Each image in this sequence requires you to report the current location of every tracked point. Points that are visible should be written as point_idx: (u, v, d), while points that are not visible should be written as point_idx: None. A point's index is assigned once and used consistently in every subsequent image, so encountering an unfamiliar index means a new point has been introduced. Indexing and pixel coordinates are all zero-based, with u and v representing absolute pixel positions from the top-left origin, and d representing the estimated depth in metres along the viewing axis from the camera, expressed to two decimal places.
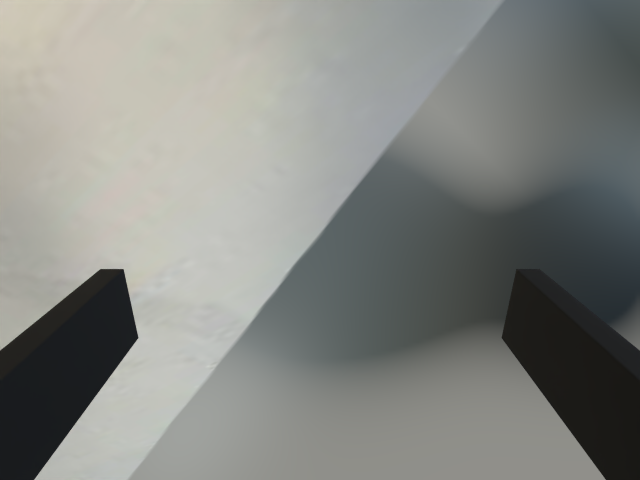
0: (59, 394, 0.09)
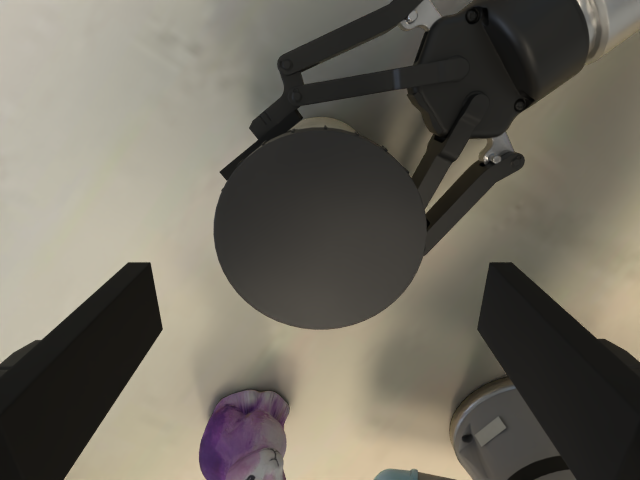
0: (98, 379, 0.10)
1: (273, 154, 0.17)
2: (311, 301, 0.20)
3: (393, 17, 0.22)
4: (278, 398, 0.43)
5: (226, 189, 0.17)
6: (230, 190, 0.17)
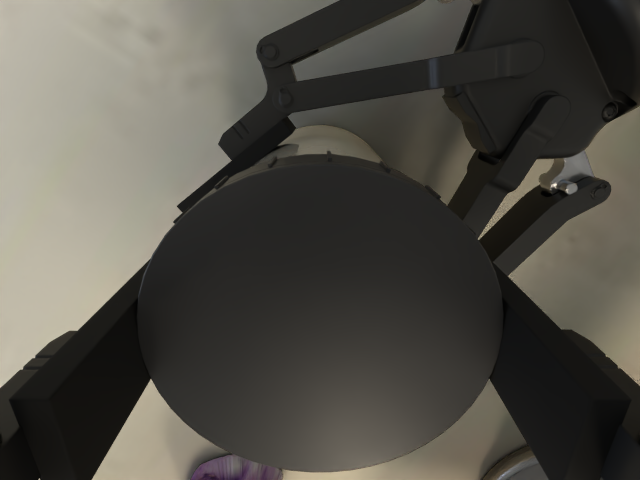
0: (129, 368, 0.10)
1: (235, 206, 0.09)
2: (305, 434, 0.12)
3: None
4: None
5: (154, 265, 0.10)
6: (161, 267, 0.10)
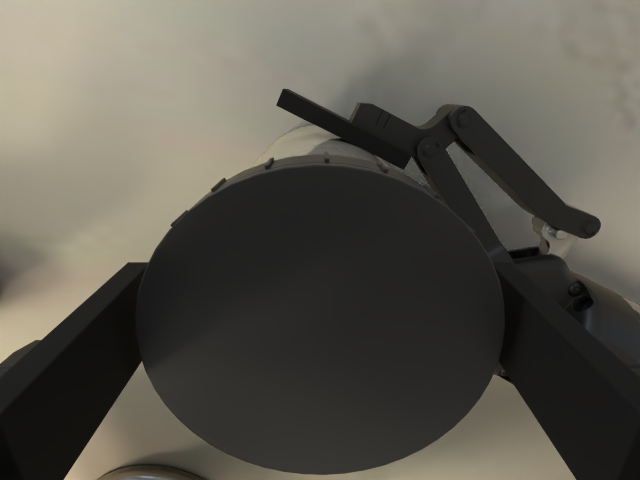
0: (97, 379, 0.10)
1: (155, 315, 0.10)
2: (395, 415, 0.12)
3: (554, 216, 0.19)
4: None
5: (162, 393, 0.11)
6: (167, 391, 0.11)
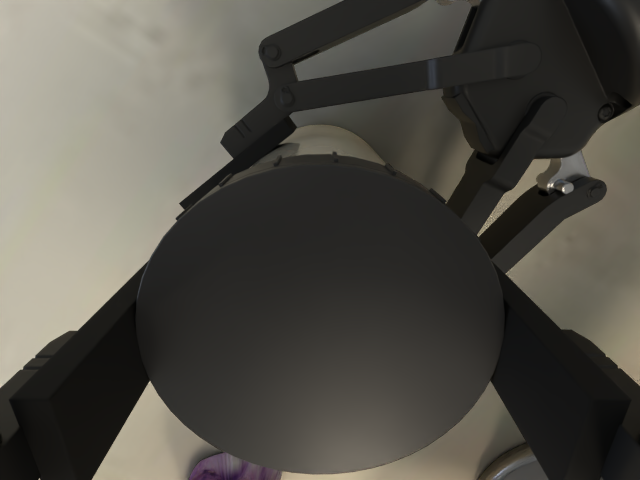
0: (129, 368, 0.10)
1: (225, 438, 0.12)
2: (441, 320, 0.10)
3: None
4: None
5: (300, 470, 0.12)
6: (299, 467, 0.12)
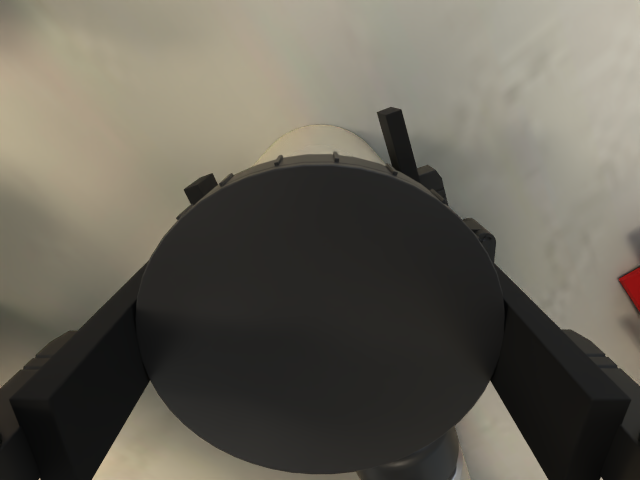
0: (129, 368, 0.10)
1: (225, 438, 0.12)
2: (441, 320, 0.10)
3: None
4: None
5: (299, 470, 0.12)
6: (298, 467, 0.12)
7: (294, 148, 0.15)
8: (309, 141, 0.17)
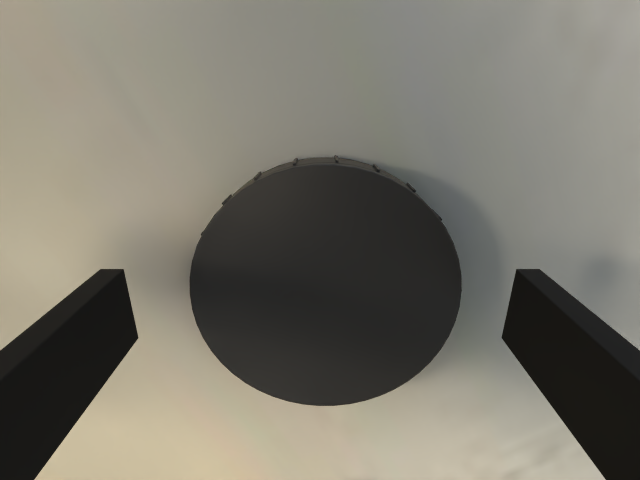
0: (59, 393, 0.09)
1: (252, 375, 0.16)
2: (414, 279, 0.14)
3: None
4: None
5: (309, 402, 0.16)
6: (308, 399, 0.16)
7: None
8: None
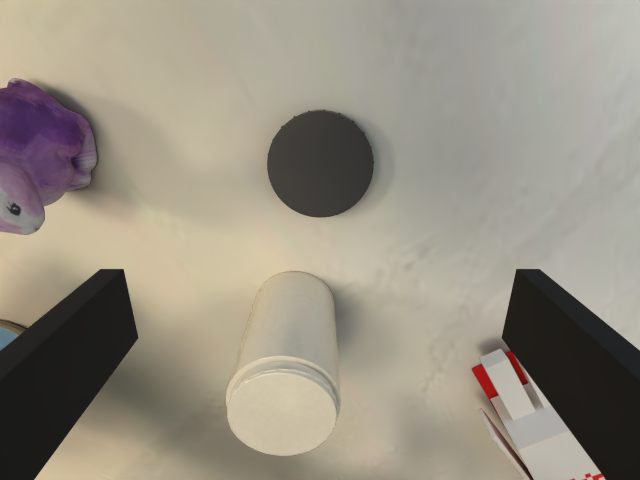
0: (59, 394, 0.09)
1: (290, 201, 0.38)
2: (354, 157, 0.36)
3: None
4: (79, 187, 0.38)
5: (313, 215, 0.38)
6: (313, 213, 0.38)
7: (279, 323, 0.33)
8: (287, 313, 0.34)
